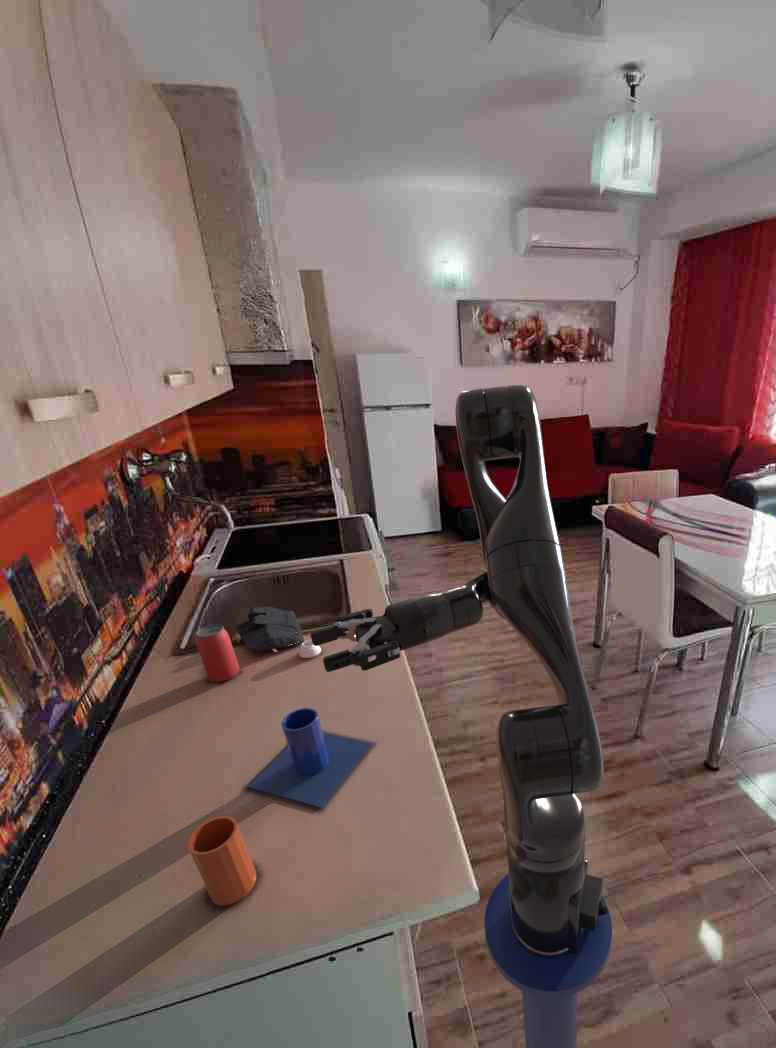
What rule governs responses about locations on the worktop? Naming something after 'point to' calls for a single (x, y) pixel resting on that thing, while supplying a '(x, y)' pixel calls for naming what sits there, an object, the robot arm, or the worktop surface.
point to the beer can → (217, 653)
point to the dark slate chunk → (269, 629)
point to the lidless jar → (309, 649)
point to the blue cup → (305, 741)
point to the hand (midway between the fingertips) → (317, 652)
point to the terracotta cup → (222, 860)
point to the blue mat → (316, 787)
